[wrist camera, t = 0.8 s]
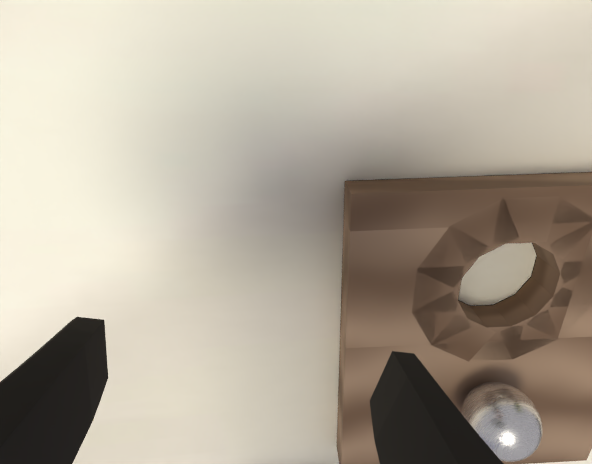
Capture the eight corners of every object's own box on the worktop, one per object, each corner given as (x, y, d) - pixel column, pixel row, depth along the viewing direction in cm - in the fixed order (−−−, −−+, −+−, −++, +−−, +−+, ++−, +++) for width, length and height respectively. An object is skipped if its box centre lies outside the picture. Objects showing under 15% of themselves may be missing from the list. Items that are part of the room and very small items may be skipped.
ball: (508, 413, 24) (548, 476, 21) (445, 416, 24) (475, 480, 21) (522, 365, 23) (569, 424, 19) (455, 368, 23) (489, 428, 19)
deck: (566, 434, 28) (586, 460, 27) (336, 446, 28) (340, 474, 26) (670, 169, 20) (709, 180, 18) (344, 180, 20) (351, 193, 18)
